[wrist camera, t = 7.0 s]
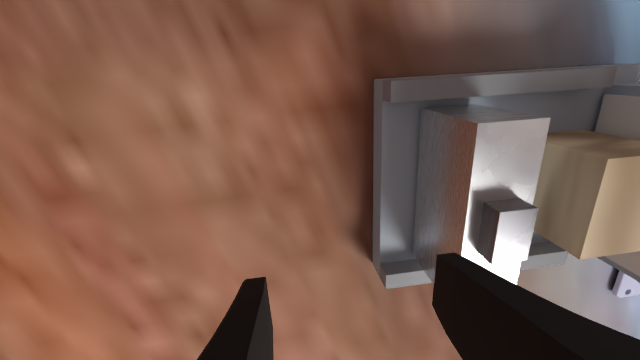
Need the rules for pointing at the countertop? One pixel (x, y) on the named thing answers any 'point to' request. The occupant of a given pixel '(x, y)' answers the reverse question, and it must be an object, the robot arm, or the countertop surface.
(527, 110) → the base
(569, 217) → the block
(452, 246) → the sliding jaw
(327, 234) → the countertop surface
